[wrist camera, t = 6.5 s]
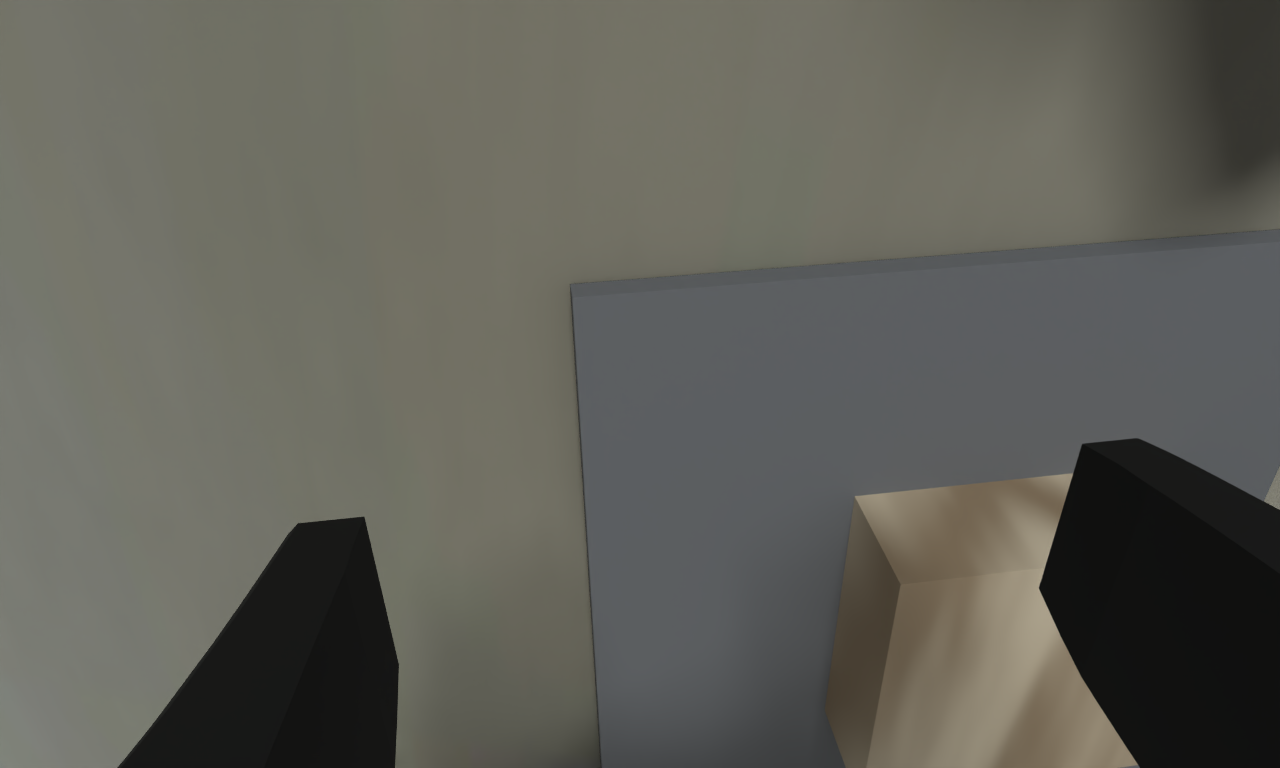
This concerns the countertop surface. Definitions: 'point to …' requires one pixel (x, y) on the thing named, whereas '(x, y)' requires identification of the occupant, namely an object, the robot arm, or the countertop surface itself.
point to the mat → (867, 446)
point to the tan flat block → (959, 636)
